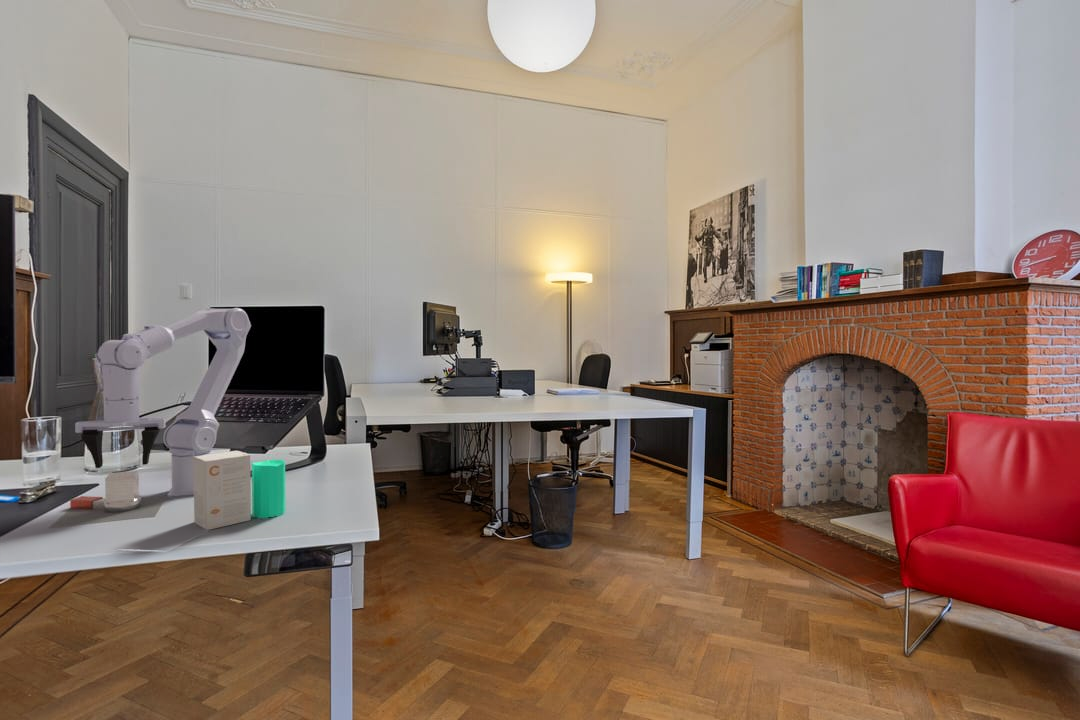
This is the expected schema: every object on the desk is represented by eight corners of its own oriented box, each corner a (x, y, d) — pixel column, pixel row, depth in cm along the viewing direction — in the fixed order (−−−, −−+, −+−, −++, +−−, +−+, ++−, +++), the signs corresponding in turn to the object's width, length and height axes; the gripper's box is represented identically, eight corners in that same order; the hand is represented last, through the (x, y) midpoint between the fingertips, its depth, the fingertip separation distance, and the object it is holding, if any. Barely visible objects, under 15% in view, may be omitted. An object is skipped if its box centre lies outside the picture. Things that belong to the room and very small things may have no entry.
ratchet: (148, 504, 115) (147, 479, 115) (124, 513, 109) (124, 487, 109) (89, 502, 115) (88, 478, 115) (62, 511, 109) (62, 485, 109)
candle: (252, 520, 107) (251, 459, 106) (252, 511, 112) (252, 453, 112) (285, 516, 110) (285, 456, 109) (284, 507, 115) (284, 451, 114)
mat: (167, 496, 121) (167, 495, 121) (154, 517, 107) (154, 516, 107) (75, 505, 114) (75, 504, 114) (48, 529, 100) (48, 527, 100)
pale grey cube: (138, 494, 115) (138, 470, 115) (133, 500, 111) (133, 475, 111) (111, 497, 113) (111, 473, 113) (105, 503, 109) (105, 478, 108)
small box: (238, 513, 111) (238, 449, 110) (251, 520, 106) (251, 454, 106) (192, 523, 104) (192, 455, 104) (205, 531, 100) (204, 460, 100)
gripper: (69, 402, 104) (71, 473, 105) (161, 399, 111) (162, 466, 111) (80, 398, 111) (81, 465, 111) (166, 396, 117) (167, 459, 118)
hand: (122, 465), depth 112 cm, fingers open, 7 cm apart
